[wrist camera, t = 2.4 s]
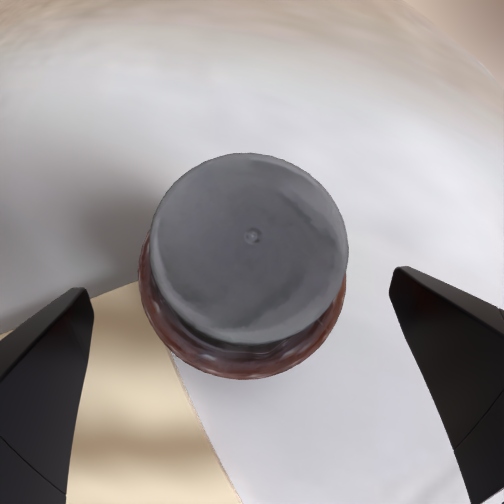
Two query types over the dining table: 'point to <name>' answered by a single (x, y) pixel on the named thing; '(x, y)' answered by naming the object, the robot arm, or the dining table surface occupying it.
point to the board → (138, 419)
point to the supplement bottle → (244, 266)
